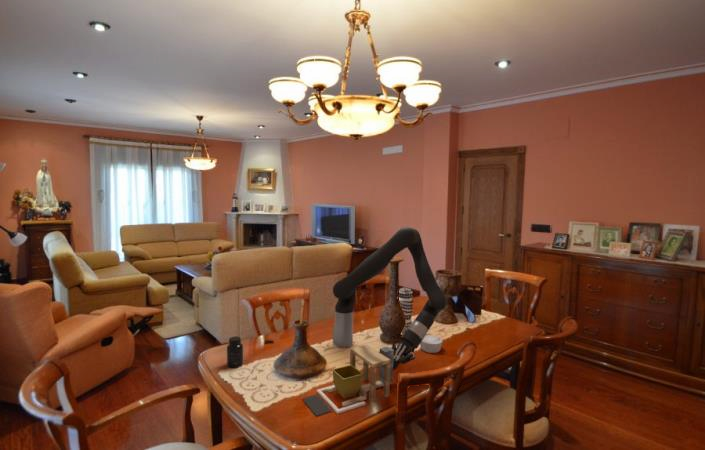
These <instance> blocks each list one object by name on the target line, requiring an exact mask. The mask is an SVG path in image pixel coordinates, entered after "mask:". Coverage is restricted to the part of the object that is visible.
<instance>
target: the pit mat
mask: <svg viewBox="0 0 705 450" xmlns="http://www.w3.org/2000/svg"><path fill="white" fill-rule="evenodd" d="M301 401H303V402H304V404H305V405H306V406H307V408H308V409H309V410H310V411H311V413H313V415H314V416H315V417H320V416H323V415H326V414H329V413H331V412H333V409H332V408H331V407H329V405H328V404H327V403H326V401H325V400H324V399H323V398H322V397H321V396H320V395H319V394H318V393H317V394H316V393H315V394H312V395H309V396H306V397H302V398H301Z"/></svg>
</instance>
